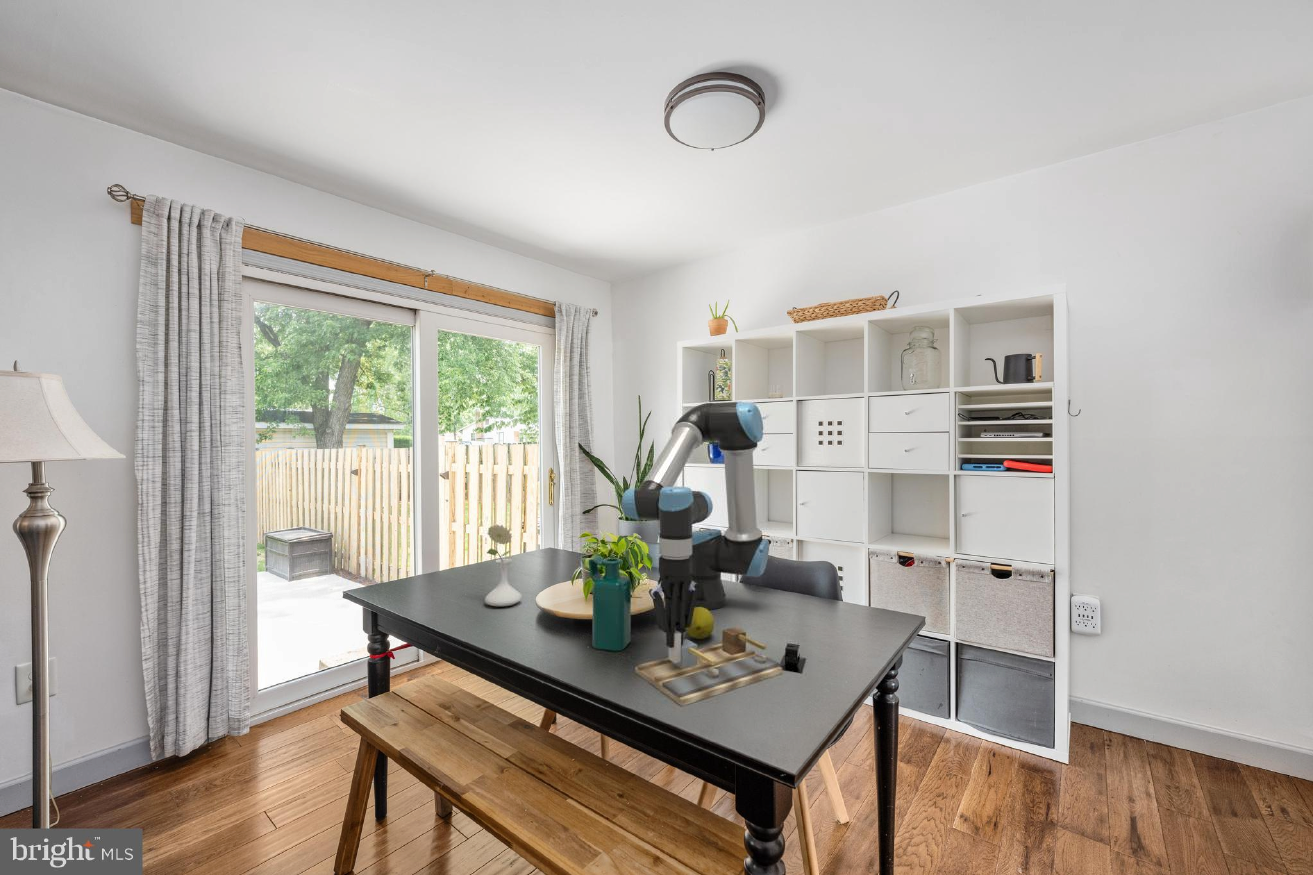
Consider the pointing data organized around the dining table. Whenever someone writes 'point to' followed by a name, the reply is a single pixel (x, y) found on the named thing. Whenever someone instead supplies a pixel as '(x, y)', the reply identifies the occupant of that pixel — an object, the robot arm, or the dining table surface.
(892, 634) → the dining table surface
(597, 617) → the pitcher
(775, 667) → the gauge board
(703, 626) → the lemon
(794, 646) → the black stand
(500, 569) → the flower in vase
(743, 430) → the robot arm
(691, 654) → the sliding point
